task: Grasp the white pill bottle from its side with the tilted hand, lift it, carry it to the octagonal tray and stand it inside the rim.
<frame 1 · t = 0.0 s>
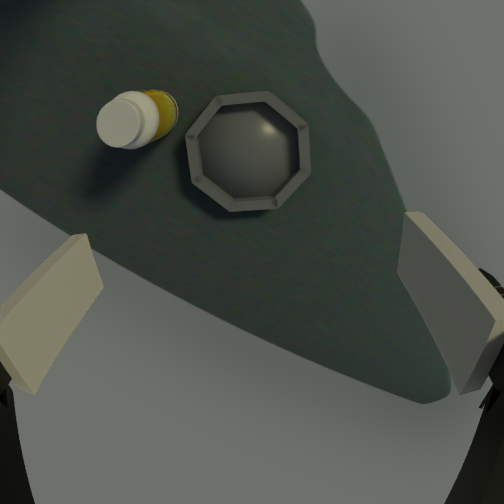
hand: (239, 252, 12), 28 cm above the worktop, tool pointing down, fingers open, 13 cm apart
octagonal tray: (249, 149, 38), on the worktop
pill bottle: (156, 113, 36), on the worktop
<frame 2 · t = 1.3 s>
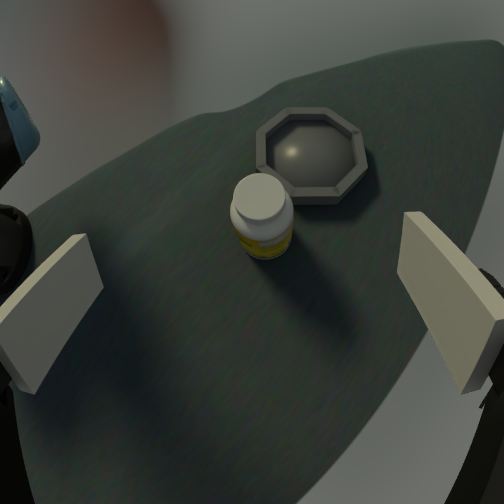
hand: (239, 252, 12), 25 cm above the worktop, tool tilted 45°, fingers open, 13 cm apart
octagonal tray: (310, 157, 41), on the worktop
pill bottle: (265, 236, 39), on the worktop
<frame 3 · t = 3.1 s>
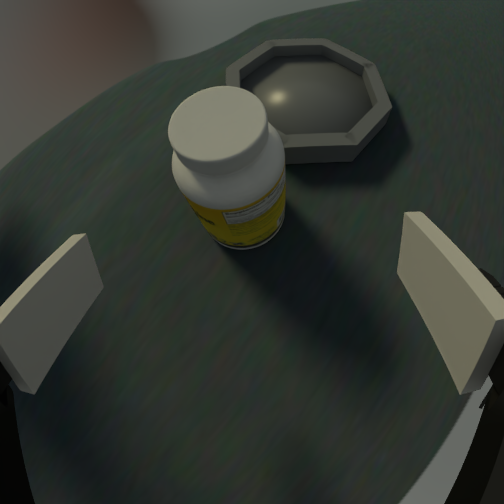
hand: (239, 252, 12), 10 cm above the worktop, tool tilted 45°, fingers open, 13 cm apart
octagonal tray: (306, 100, 27), on the worktop
pill bottle: (244, 214, 25), on the worktop
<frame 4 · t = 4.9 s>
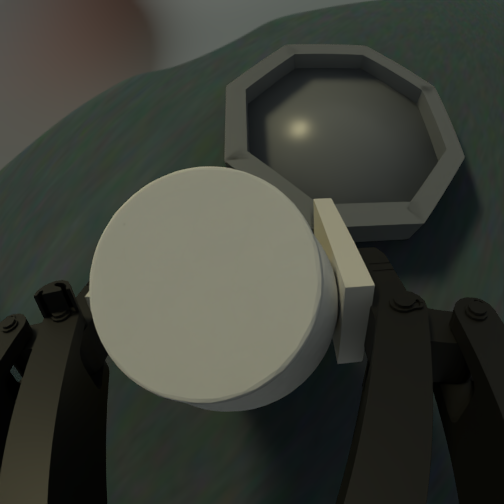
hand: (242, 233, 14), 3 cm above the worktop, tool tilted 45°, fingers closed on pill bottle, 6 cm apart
octagonal tray: (342, 137, 19), on the worktop
pill bottle: (253, 323, 16), on the worktop, touching gripper
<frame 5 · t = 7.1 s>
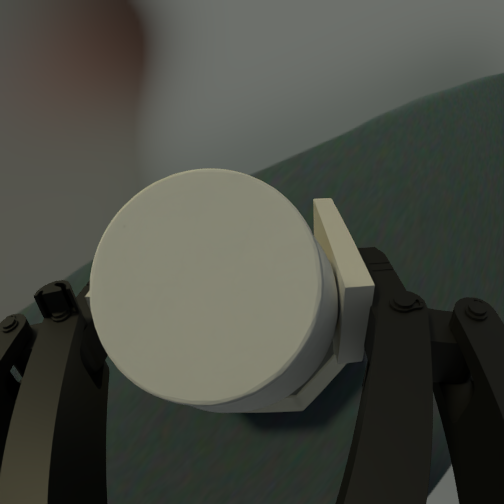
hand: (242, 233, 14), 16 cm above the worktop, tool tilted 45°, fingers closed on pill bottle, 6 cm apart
octagonal tray: (266, 331, 29), on the worktop
pill bottle: (253, 324, 16), point 13 cm above the worktop, touching gripper
when the fingers open (5 cm above the worktop, at t = 9.4 s): pill bottle stays where it is, resting on octagonal tray.
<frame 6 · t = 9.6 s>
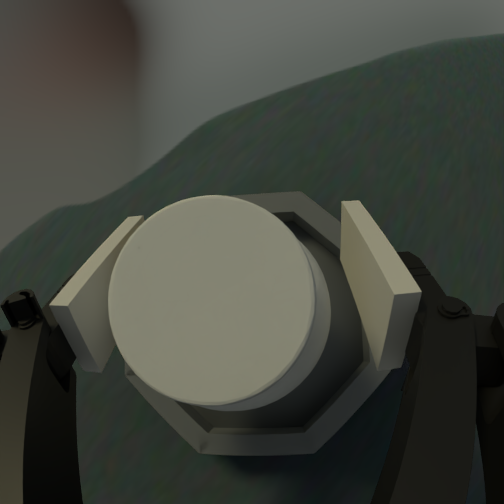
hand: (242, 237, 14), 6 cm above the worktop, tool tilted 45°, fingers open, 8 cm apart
octagonal tray: (256, 325, 18), on the worktop
pill bottle: (251, 326, 17), point 1 cm above the worktop, touching octagonal tray
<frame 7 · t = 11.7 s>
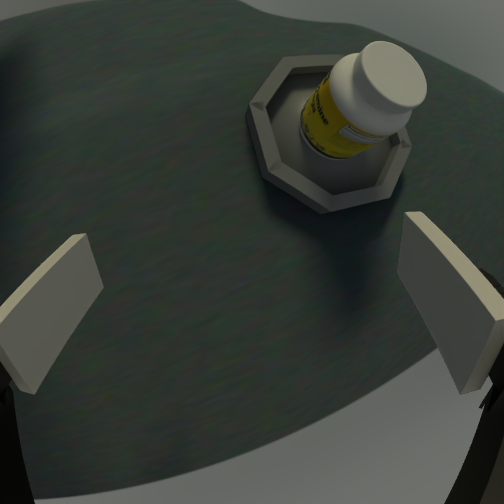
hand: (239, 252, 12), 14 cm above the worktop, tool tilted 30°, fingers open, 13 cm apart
octagonal tray: (328, 132, 27), on the worktop
pill bottle: (329, 129, 26), point 1 cm above the worktop, touching octagonal tray
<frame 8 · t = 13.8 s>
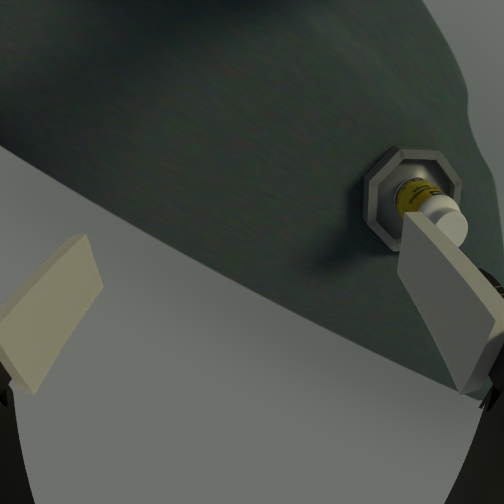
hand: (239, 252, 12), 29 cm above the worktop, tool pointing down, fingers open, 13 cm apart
octagonal tray: (410, 196, 40), on the worktop
pill bottle: (412, 197, 39), point 1 cm above the worktop, touching octagonal tray
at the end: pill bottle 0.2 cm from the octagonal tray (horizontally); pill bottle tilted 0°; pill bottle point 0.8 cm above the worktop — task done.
